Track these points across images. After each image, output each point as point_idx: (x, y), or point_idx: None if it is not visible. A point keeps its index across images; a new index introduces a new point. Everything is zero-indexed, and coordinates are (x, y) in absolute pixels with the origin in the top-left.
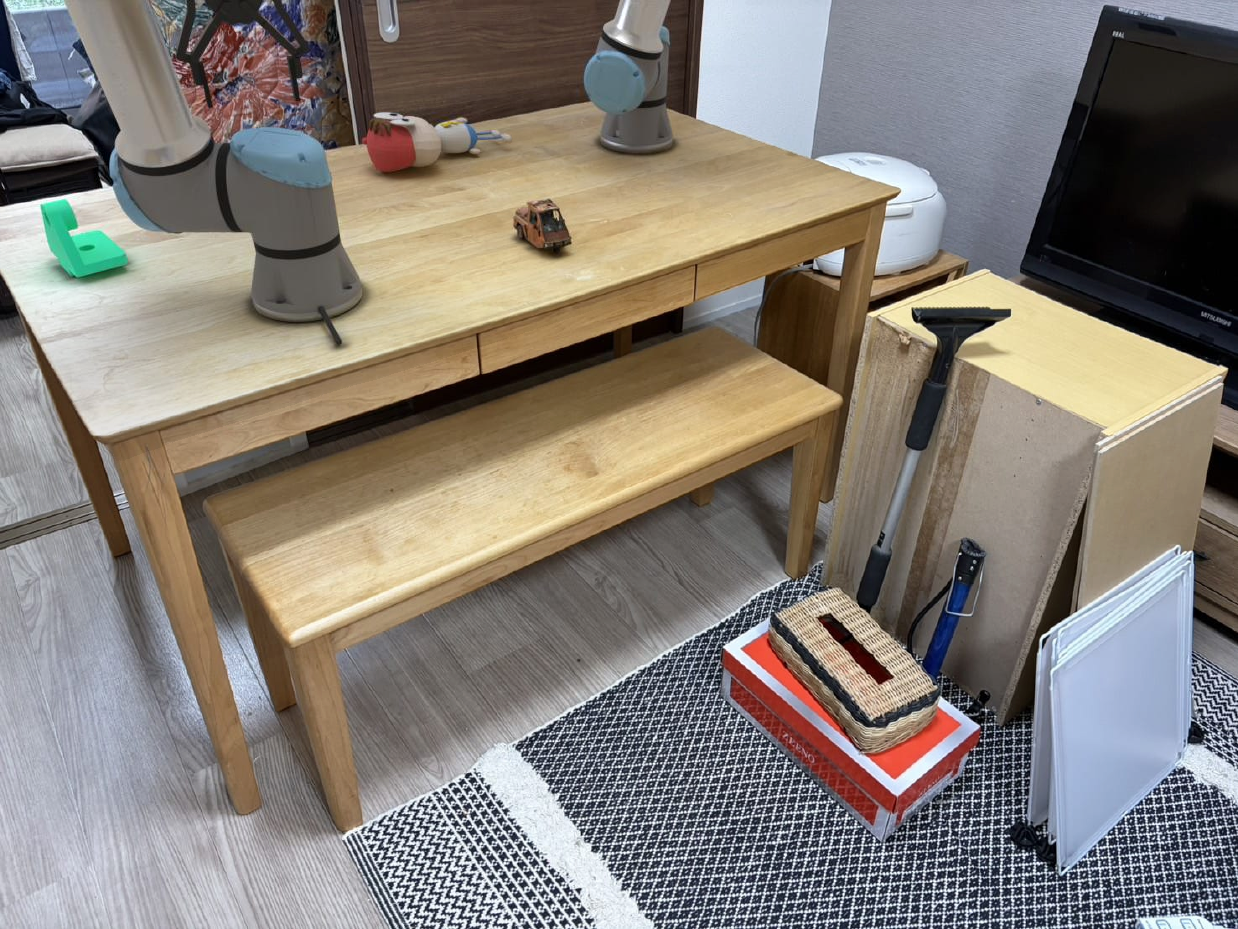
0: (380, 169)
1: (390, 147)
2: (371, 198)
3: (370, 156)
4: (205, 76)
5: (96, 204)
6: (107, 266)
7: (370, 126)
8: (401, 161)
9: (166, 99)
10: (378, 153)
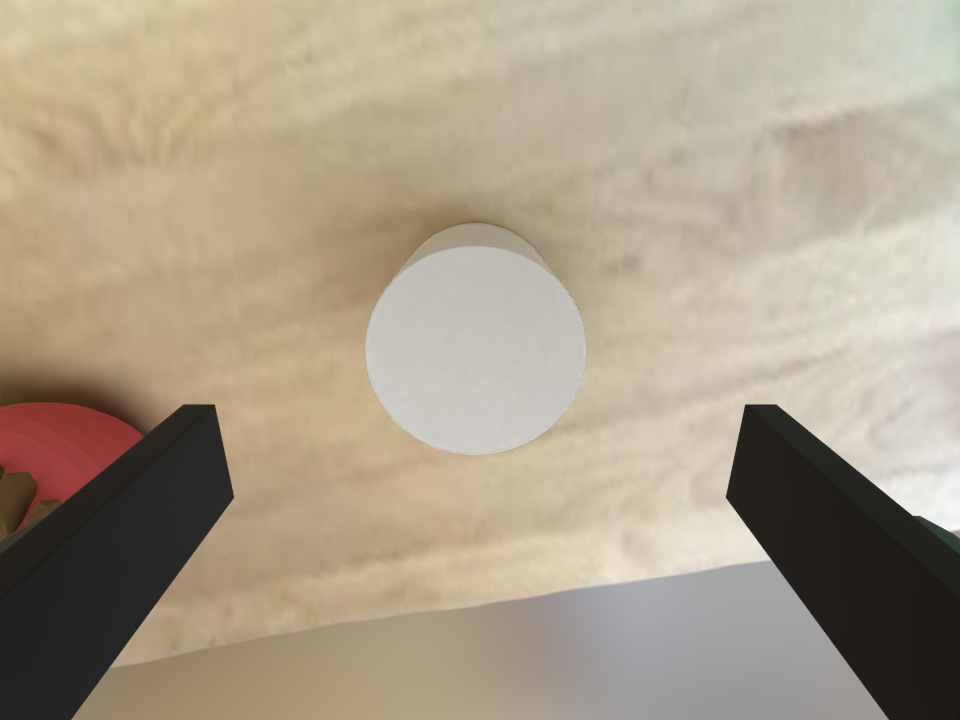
0: (141, 435)
1: (30, 432)
2: (185, 259)
3: None
4: (900, 542)
5: (915, 459)
6: None
7: None
8: (37, 402)
9: None
10: (101, 449)
